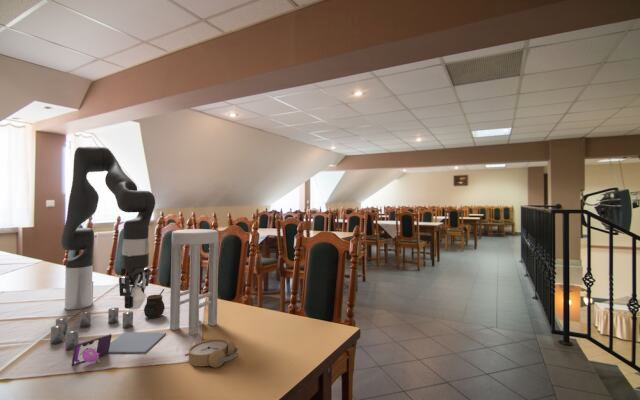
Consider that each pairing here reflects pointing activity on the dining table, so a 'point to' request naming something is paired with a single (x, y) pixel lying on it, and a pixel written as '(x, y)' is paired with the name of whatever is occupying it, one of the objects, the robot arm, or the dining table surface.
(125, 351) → the rubber mat
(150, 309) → the mate gourd
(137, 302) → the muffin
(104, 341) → the game card
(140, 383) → the dining table surface
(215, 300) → the stool
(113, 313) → the posts
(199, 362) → the alarm clock
